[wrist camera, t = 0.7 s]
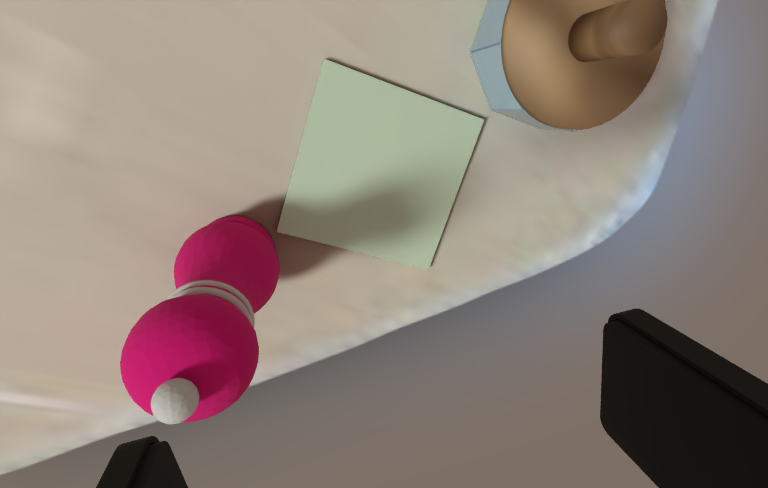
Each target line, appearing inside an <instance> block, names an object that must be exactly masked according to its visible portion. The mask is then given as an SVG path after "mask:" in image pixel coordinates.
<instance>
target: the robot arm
mask: <svg viewBox="0 0 768 488" xmlns="http://www.w3.org/2000/svg"><path fill="white" fill-rule="evenodd" d="M600 418H601V423H602V425H603V427H604V429H605V431H606V432H607V434H608V435H609V436H610V437H611V438H612V439H613V440H614V441H615V442H616V443H617V444H618V445H619V446H620V447H621V448H622V450H623V451H624V452H625V453H626V454H627V455H628V456H629V457H630V458H631V459H632V460H633V461H634V462H635V463H636V464H637V465H638V466H639V467H640V468H641V470H642V471H643V472H644V473H645V474H646V475H647V476H648V477H649V478H650V479H651V480H652V481H653V482H654V483H655V484H656V485H657V486H658V487H659V488H768V384H767V383H765V382H764V381H762V380H760V379H758V378H757V377H755V376H753V375H752V374H750V373H748V372H747V371H745V370H743V369H742V368H740V367H738V366H736V365H735V364H733V363H731V362H729V361H728V360H726V359H725V358H723V357H721V356H719V355H718V354H716V353H714V352H713V351H711V350H709V349H708V348H706V347H704V346H703V345H701V344H699V343H698V342H696V341H694V340H692V339H691V338H689V337H687V336H686V335H684V334H682V333H680V332H679V331H677V330H676V329H674V328H672V327H670V326H669V325H667V324H665V323H663V322H662V321H660V320H659V319H657V318H655V317H654V316H652V315H650V314H648V313H647V312H645V311H643V310H641V309H632V310H628V311H624V312H620V313H616V314H613V315H611V316H610V318H609V320H608V323H606V324H605V326H604V330H603V356H602V383H601V410H600ZM96 488H188V486H187V484H186V482H185V480H184V477H183V475H182V473H181V470H180V468H179V466H178V463H177V461H176V459H175V457H174V454H173V452H172V450H171V447H170V445H169V444H168V442H166V441H162V442H159V440H158V439H157V438H156V437H155V436H150V437H146V438H143V439H139V440H135V441H131V442H127V443H123V444H121V445H119V446H118V447H117V449H116V450H115V452H114V454H113V456H112V458H111V459H110V461H109V464H108V465H107V467H106V469H105V471H104V473H103V475H102V477H101V479H100V481H99V483H98V485H97V487H96Z"/></svg>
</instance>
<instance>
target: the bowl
mask: <svg viewBox="0 0 768 488" xmlns="http://www.w3.org/2000/svg"><path fill="white" fill-rule="evenodd" d="M509 1H510V0H488V2H487V5H486V8H485V11H484V14H483V17H482V19H481V22H480V25H479V28H478V31H477V34H476V37H475V39H474V42H473V45H472V48H471V52H472V53H470V54H471V57H472V59H473V62H474V65H475V68H476V70H477V73H478V76H479V79H480V81H481V84H482V87H483V90H484V92H485V95H486V98H487V101H488V103H489V106H490V109H492V111H495V112H497V113H500V114H503V115H505V116H508V117H510V118H513V119H515V120H518V121H520V122H523V123H526V124H528V125H531V126H533V127H536V128H540V129H552V130H564V131H576V130H568V129H560V128H554V127H551V126H548V125H545V124H543V123H541V122H539V121H537V120H536V119H534V118H533V117H532V116H530V115H529V114H528V113H527V112H526V111H525V110H524V109H523V108H522V107H521V106H520V104H519V103H518V102H517V101H516V99H515V97H514V96H513V94H512V92H511V90H510V88H509V85H508V83H507V81H506V77H505V73H504V70H503V64H502V57H501V36H502V27H503V22H504V17H505V14H506V10H507V7H508V4H509Z"/></svg>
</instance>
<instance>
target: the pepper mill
mask: <svg viewBox="0 0 768 488" xmlns="http://www.w3.org/2000/svg"><path fill="white" fill-rule="evenodd" d="M174 278H175V285H176V290H174V291H173V292H172V293H171V294H170V295H169V296H168V297H167V298H166V300H165V301H163V302H161V303H159V304H158V305H156V306H154V307H153V308H151V309H150V310H149V311H147V312H146V313H145V314H144V315H143V316H142V317H141V318H140V319H139V321H138V322H137V323H136V324H135V326H134V327H133V328H132V329H131V331H130V333H129V335H128V338H127V340H126V342H125V345H124V347H123V350H122V355H121V362H120V366H121V375H122V380H123V383H124V385H125V387H126V389H127V391H128V393H129V395H130V396H131V398H132V399H133V401H134V402H135V403H136V404H138V405H139V406H140V407H141V408H142V409H143V410H144V411H146V412H147V413H149V414H151V415H153V416H155V417H156V418H157V419H158V420H159V421H161V422H163V423H166V424H177V423H180V422H193V421H198V420H203V419H206V418H209V417H212V416H214V415H216V414H218V413H220V412H222V411H224V410H225V409H226V408H228V407H229V406H231V405H232V404H233V403H234V402H235V401H237V400H238V399H239V398H240V397H241V395H242V394H243V393H244V391H245V390H246V389H247V388H248V386H249V384H250V382H251V380H252V378H253V376H254V373H255V370H256V367H257V363H258V355H259V346H258V341H257V336H256V332H255V330H254V313H256V312H257V311H258V310H260V309H261V308H262V307H263V306H264V305H265V304H266V303H267V302H268V300H269V299H270V298H271V296H272V294H273V292H274V291H275V288H276V285H277V281H278V278H279V261H278V257H277V254H276V251H275V247H274V243H273V240H272V238H271V236H270V234H269V233H268V231H267V230H266V229H265V228H264V227H263V226H262V225H260V224H259V223H257V222H256V221H254V220H252V219H249V218H246V217H241V216H228V217H223V218H220V219H217V220H215V221H213V222H212V223H210V224H209V225H208V226H205V227H203V228H201V229H199V230H198V231H196V232H195V233H193V234H192V235H191V236H190V237H189V238H188V239H187V240H186V241H185V243H184V244H183V246H182V248H181V249H180V251H179V253H178V255H177V258H176V261H175V266H174Z"/></svg>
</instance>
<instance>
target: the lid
mask: <svg viewBox="0 0 768 488" xmlns="http://www.w3.org/2000/svg"><path fill="white" fill-rule="evenodd" d="M666 26H667V11H666V7H665V0H510V1H509V4H508V7H507V10H506V14H505V17H504V22H503V27H502V36H501V57H502V64H503V70H504V73H505V77H506V81H507V83H508V85H509V88H510V90H511V92H512V94H513V96H514V97H515V99H516V101H517V102H518V103H519V104H520V106H521V107H522V108H523V109H524V110H525V111H526V112H527V113H528V114H529V115H530V116H532V117H533V118H534V119H536V120H537V121H539V122H541V123H543V124H545V125H548V126H551V127H554V128H560V129H568V130H581V129H587V128H592V127H595V126H598V125H601V124H603V123H605V122H608V121H610V120H611V119H613V118H614V117H616V116H618V115H619V114H620V113H622V112H623V111H624V110H625V109H627V108H628V107H629V106H630V105H631V104H632V103H633V102H634V101H635V100H636V98H637V97H638V96H639V95H640V93H641V92H642V91H643V89H644V88H645V86H646V85H647V83H648V82H649V80H650V78H651V76H652V74H653V72H654V70H655V68H656V65H657V63H658V60H659V57H660V54H661V50H662V47H663V42H664V37H665V30H666Z"/></svg>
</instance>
